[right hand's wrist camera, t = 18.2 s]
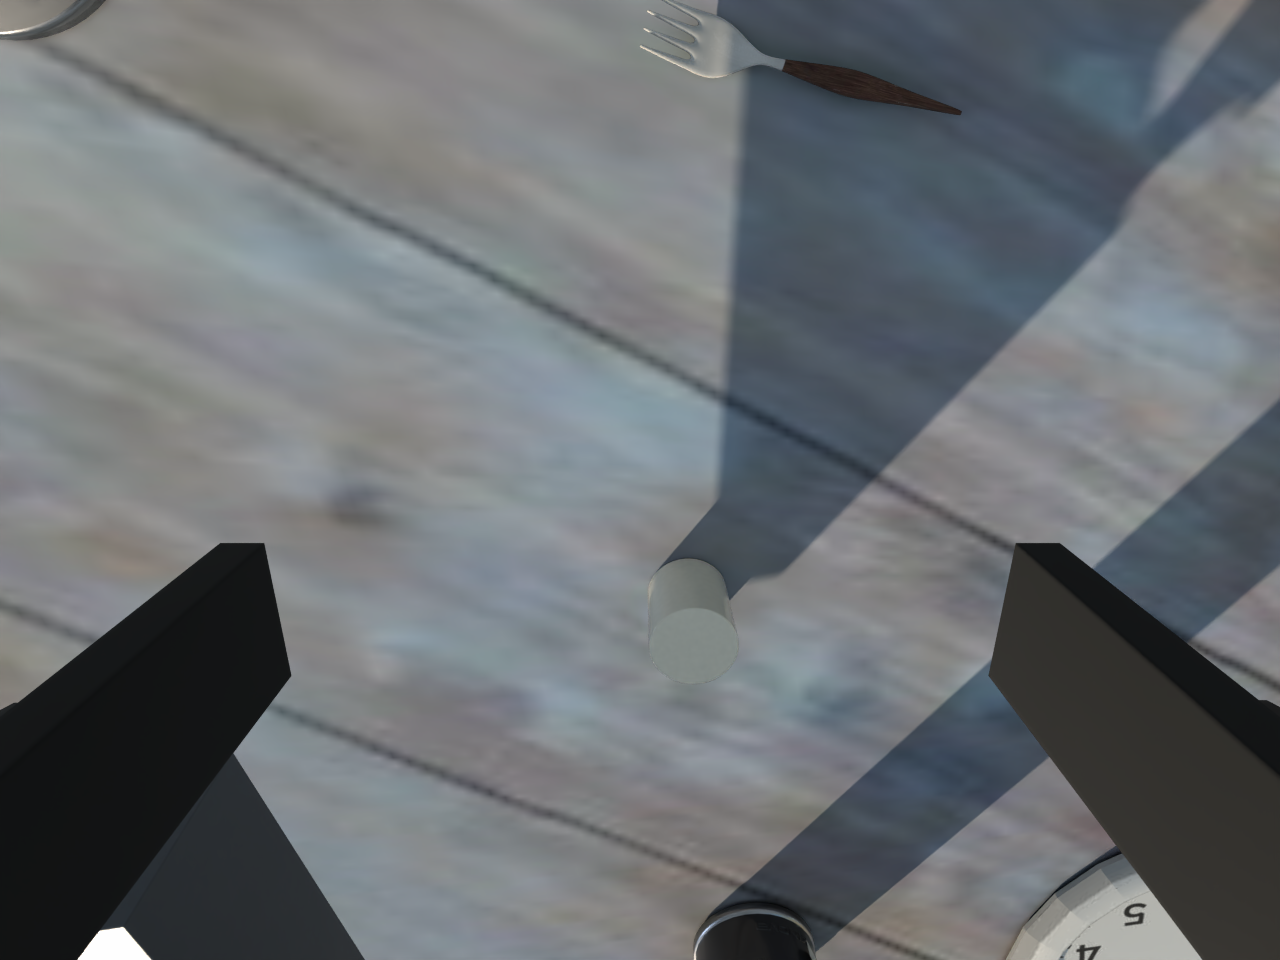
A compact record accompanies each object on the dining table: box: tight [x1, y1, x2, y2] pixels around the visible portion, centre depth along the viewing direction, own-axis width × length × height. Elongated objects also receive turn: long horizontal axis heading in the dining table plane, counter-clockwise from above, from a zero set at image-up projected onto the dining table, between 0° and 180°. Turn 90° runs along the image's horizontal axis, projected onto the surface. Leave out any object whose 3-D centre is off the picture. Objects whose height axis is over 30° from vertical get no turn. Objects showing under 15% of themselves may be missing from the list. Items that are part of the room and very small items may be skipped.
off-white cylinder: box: [648, 558, 739, 684], centre depth 42 cm, size 5×5×6 cm
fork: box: [640, 0, 962, 115], centre depth 34 cm, size 3×16×2 cm, turn 77°
